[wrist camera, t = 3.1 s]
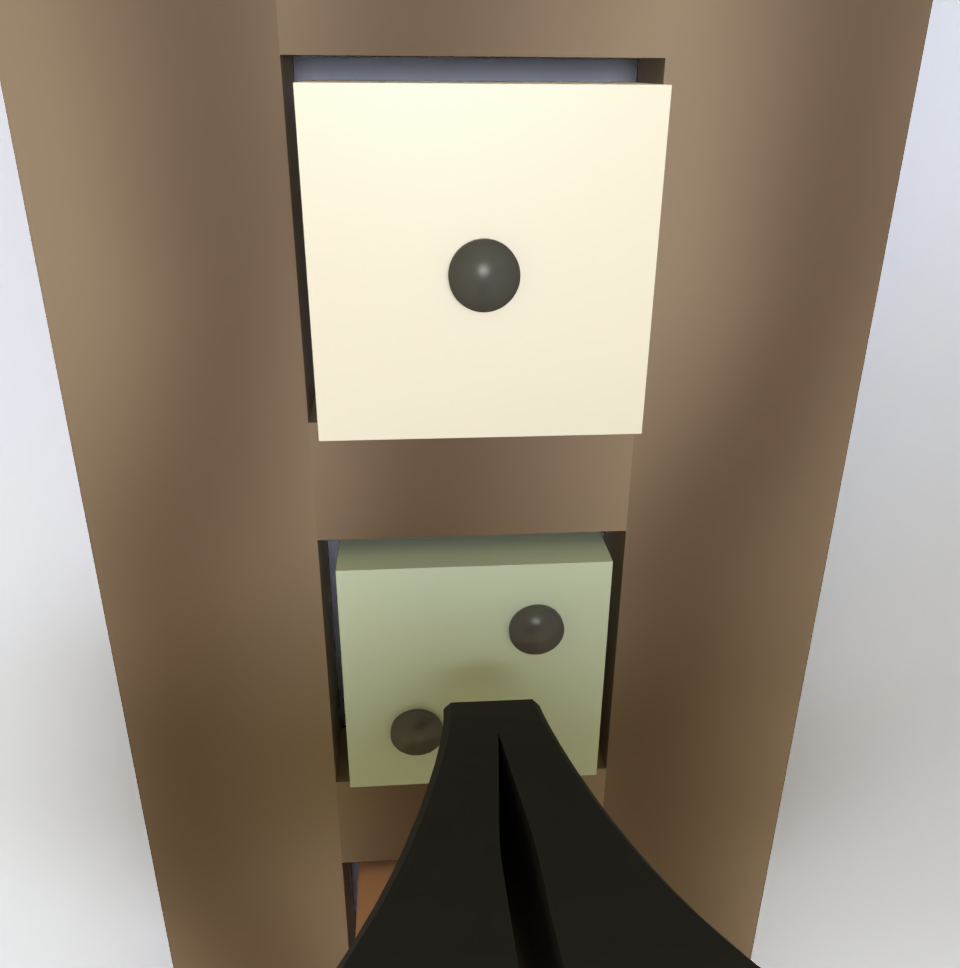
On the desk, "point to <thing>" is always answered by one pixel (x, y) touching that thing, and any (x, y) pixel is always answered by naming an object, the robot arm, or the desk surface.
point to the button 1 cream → (480, 254)
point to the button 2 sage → (468, 641)
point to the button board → (446, 461)
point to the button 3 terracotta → (371, 887)
